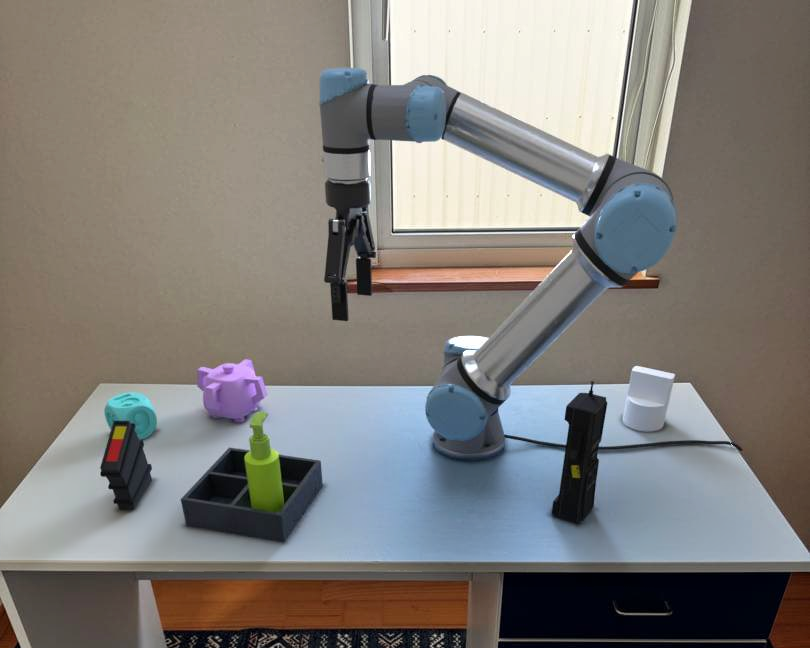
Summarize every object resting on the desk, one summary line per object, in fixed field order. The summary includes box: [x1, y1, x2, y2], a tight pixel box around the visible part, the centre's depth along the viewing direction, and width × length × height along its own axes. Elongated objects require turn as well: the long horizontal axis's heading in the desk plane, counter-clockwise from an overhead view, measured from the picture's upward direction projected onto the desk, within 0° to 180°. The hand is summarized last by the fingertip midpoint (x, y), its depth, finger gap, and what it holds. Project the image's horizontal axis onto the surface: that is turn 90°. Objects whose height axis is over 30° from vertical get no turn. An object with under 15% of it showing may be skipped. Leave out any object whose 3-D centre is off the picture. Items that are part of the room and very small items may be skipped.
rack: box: [180, 446, 324, 543], centre depth 142 cm, size 19×19×6 cm
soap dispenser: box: [244, 411, 284, 513], centre depth 133 cm, size 6×7×20 cm
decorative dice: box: [103, 391, 158, 441], centre depth 164 cm, size 8×8×8 cm
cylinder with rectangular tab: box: [622, 365, 676, 433], centre depth 166 cm, size 9×9×12 cm
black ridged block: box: [99, 421, 153, 510], centre depth 143 cm, size 4×13×15 cm
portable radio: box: [551, 380, 608, 525], centre depth 133 cm, size 8×6×25 cm
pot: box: [196, 358, 268, 423], centre depth 171 cm, size 18×17×12 cm
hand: (353, 307), depth 136 cm, fingers open, 13 cm apart
